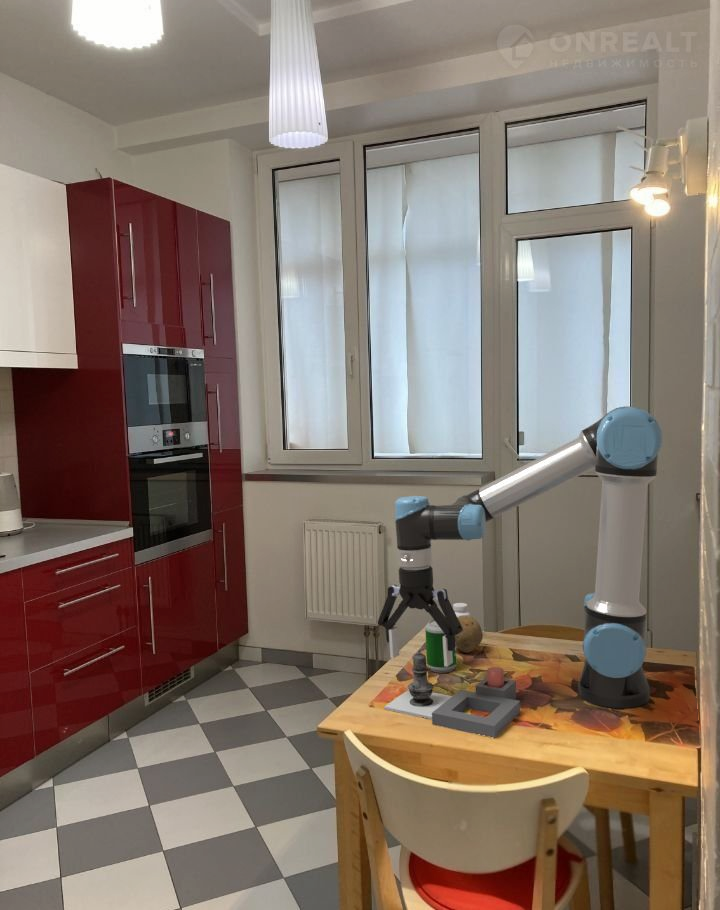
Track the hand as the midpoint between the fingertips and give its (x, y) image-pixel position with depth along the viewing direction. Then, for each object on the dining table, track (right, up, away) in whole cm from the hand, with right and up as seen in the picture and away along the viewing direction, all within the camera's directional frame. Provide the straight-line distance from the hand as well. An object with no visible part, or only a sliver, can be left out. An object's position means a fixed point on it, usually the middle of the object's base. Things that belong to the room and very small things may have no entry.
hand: (421, 660), depth 166 cm
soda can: (+7, -9, +22) cm, 25 cm away
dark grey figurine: (0, -10, +1) cm, 10 cm away
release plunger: (+17, -8, +1) cm, 19 cm away
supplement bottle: (+15, -7, +46) cm, 49 cm away
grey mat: (0, -10, +1) cm, 10 cm away
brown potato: (+15, -7, +34) cm, 38 cm away
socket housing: (+13, -10, -5) cm, 17 cm away
